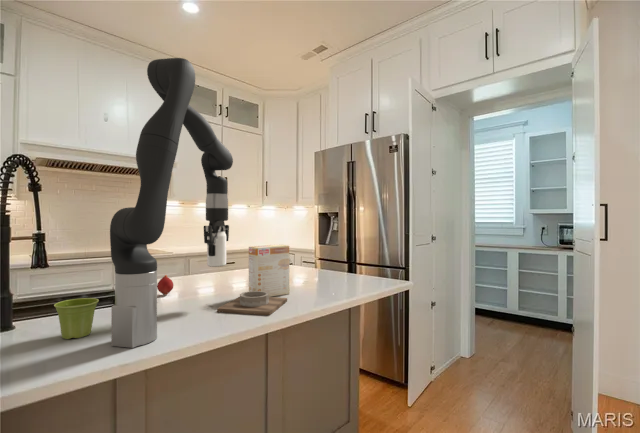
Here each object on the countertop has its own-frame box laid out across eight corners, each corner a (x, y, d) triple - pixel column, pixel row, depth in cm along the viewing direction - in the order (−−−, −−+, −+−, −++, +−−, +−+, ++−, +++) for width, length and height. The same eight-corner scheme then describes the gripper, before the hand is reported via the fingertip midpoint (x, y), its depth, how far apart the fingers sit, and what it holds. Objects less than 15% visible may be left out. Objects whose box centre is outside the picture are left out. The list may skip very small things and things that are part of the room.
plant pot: (83, 327, 93) (83, 296, 93) (106, 331, 89) (106, 299, 89) (45, 339, 84) (45, 304, 84) (69, 344, 81) (69, 308, 81)
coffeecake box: (281, 290, 139) (281, 244, 139) (290, 294, 133) (290, 245, 133) (247, 295, 130) (247, 246, 130) (255, 299, 124) (255, 247, 124)
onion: (153, 296, 129) (153, 275, 129) (164, 293, 135) (164, 273, 135) (166, 297, 127) (166, 276, 128) (176, 294, 133) (176, 274, 133)
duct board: (269, 315, 104) (269, 302, 104) (217, 312, 108) (217, 299, 108) (287, 301, 122) (287, 289, 122) (241, 298, 125) (241, 287, 125)
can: (229, 264, 119) (229, 230, 119) (222, 266, 113) (222, 231, 113) (211, 264, 120) (211, 230, 120) (203, 266, 113) (203, 231, 113)
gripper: (216, 206, 108) (216, 257, 108) (236, 207, 123) (235, 253, 123) (195, 206, 110) (195, 257, 110) (217, 207, 124) (217, 252, 124)
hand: (216, 254), depth 116 cm, fingers closed on can, 6 cm apart
